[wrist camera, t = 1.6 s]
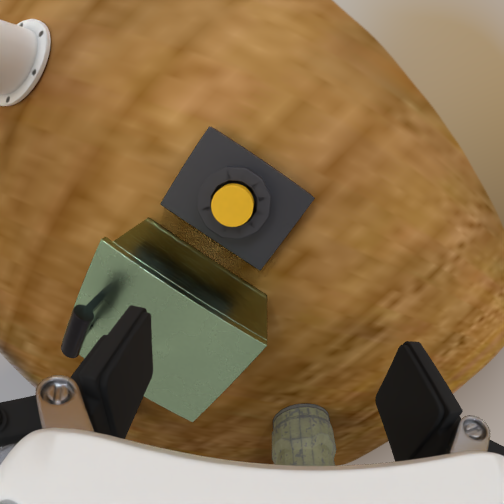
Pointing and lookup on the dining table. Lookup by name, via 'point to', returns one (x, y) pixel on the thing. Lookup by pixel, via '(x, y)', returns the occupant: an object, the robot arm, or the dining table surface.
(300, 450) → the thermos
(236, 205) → the button
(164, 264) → the green box
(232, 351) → the lid
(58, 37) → the dining table surface
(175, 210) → the control box
